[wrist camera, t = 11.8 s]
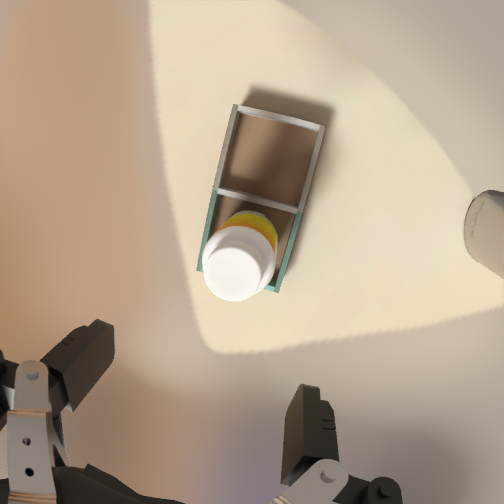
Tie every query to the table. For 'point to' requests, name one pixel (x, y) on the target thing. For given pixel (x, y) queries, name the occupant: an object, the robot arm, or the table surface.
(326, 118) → the table surface
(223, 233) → the supplement bottle
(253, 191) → the divided sorting tray
